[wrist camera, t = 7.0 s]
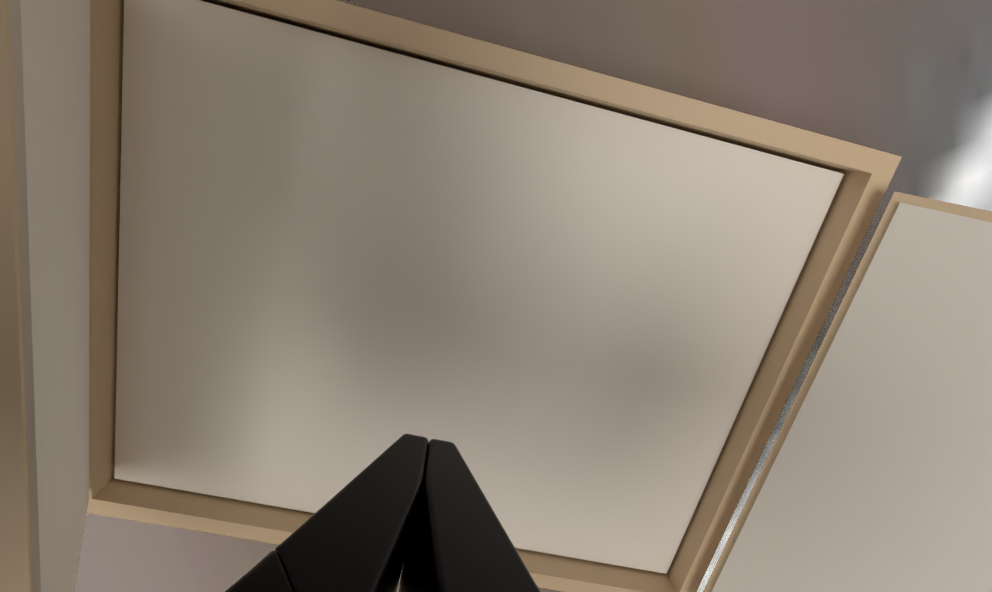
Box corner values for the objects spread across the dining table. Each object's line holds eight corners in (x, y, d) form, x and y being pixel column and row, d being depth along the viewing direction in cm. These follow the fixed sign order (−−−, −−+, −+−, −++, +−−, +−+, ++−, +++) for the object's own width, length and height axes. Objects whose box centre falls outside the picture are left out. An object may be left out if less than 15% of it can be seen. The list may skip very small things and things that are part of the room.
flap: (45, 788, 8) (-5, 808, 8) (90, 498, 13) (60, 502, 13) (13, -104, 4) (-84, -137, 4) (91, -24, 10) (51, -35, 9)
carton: (631, 483, 21) (686, 611, 16) (190, 399, 20) (72, 510, 14) (763, 144, 17) (903, 152, 12) (219, -3, 15) (66, -81, 10)
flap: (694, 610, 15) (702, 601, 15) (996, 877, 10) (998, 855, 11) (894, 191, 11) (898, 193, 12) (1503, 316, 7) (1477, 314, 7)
